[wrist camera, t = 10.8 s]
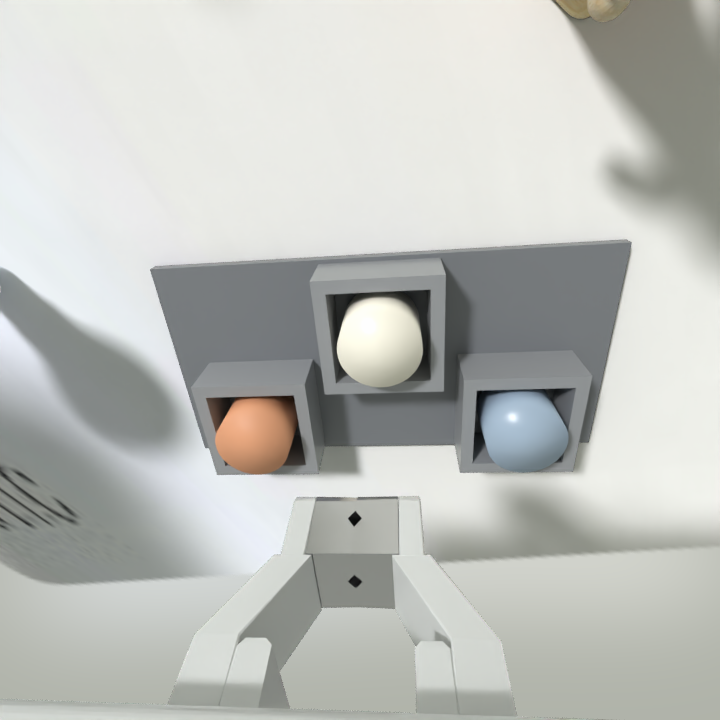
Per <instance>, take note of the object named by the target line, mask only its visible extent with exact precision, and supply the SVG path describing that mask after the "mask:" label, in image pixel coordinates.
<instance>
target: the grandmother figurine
mask: <svg viewBox="0 0 720 720" xmlns="http://www.w3.org/2000/svg"><path fill="white" fill-rule="evenodd" d="M555 1H556V2H557V3H558V4H559V5H560V6H561V7H562V8H563V9H564V10H565V11H566V12H567V13H568V14H569V15H570V16H572V17H574V18H580V19H585V18H588V17H590V16H591V17H592V18H593V19H594V20H596V21H598V22H607V21H611V20H613V19H615V18H616V17H618V16H619V15H620V14H621V13H622V12H623V11H624V10H625V9H626V7H627V6H628V4H629V3H630V1H631V0H555Z"/></svg>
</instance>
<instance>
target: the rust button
mask: <svg viewBox="0 0 720 720" xmlns="http://www.w3.org/2000/svg"><path fill="white" fill-rule="evenodd" d="M297 425H298V416H297V411H296V405H295V399H294V397H293V396H292V395H291V396H253V397H236V399H235V401H234V402H233V404H232V406H231V408H230V409H229V411H228V413H227V415H226V416H225V418H224V420H223V422H222V424H221V425H220V427H219V429H218V431H217V433H216V437H215V444H216V448H217V451H218V453H219V454H220V456H221V457H222V458H223V460H224V461H225V462H226V463H228V464H229V465H230V466H232V467H233V468H235V469H237V470H239V471H242V472H245V473H249V474H267V473H271V472H273V471H275V470H277V469H279V468H280V467H281V466H282V465H283V464H284V463H285V461H286V459H287V457H288V454H289V450H290V447H291V444H292V441H293V438H294V435H295V431H296V428H297Z"/></svg>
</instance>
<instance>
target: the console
mask: <svg viewBox="0 0 720 720" xmlns="http://www.w3.org/2000/svg"><path fill="white" fill-rule="evenodd" d="M631 243H632V242H630V241H628V240H611V241H593V242H576V243H558V244H540V245H523V246H505V247H488V248H470V249H452V250H435V251H417V252H399V253H382V254H364V255H346V256H329V257H311V258H293V259H276V260H258V261H240V262H223V263H205V264H187V265H170V266H155V267H153V268H152V269H150V271H151V274H152V277H153V281H154V284H155V287H156V290H157V293H158V297H159V300H160V303H161V306H162V310H163V313H164V316H165V319H166V323H167V326H168V329H169V332H170V336H171V339H172V342H173V345H174V348H175V352H176V355H177V358H178V361H179V365H180V368H181V371H182V374H183V378H184V381H185V384H186V387H187V391H188V394H189V397H190V400H191V403H192V407H193V410H194V413H195V416H196V420H197V423H198V426H199V429H200V433H201V436H202V439H203V442H204V446H205V448H209V449H210V453H211V456H212V459H213V463H214V466H215V469H216V472H217V475H254V474H249V473H245V472H242V471H239V470H237V469H235V468H233V467H232V466H230V465H229V464H228V463H226V462H225V461H224V460H223V458H222V457H221V456H220V454H219V453H218V451H217V448H216V444H215V437H216V433H217V431H218V429H219V427H220V425H221V424H222V422H223V420H224V418H225V416H226V415H227V413H228V411H229V409H230V408H231V406H232V404H233V402H234V401H235V399H236V397H253V396H291V395H292V396H293V397H294V399H295V405H296V411H297V416H298V425H297V428H296V431H295V435H294V438H293V441H292V444H291V447H290V450H289V454H288V457H287V459H286V461H285V463H284V464H283V465H282V466H281V467H280V468H279V469H277V470H275V471H273V472H271V473H267V474H319V470H320V465H321V461H322V456H323V451H324V446H379V445H446V444H455V448H456V454H457V459H458V465H459V470H460V473H478V472H513V471H509V470H506V469H504V468H502V467H500V466H498V465H497V464H496V463H495V462H494V461H493V460H492V459H491V457H490V456H489V453H488V450H487V447H486V443H485V439H484V436H483V432H482V429H481V425H480V422H479V418H478V415H477V401H478V398H479V396H480V394H481V393H482V391H483V390H518V389H545V390H546V392H547V394H548V396H549V398H550V399H551V401H552V403H553V405H554V407H555V408H556V410H557V412H558V414H559V416H560V417H561V419H562V421H563V423H564V425H565V426H566V429H567V431H568V437H569V439H568V445H567V447H566V450H565V451H564V453H563V454H562V456H561V457H560V458H559V459H558V460H557V461H556V462H554V463H553V464H551V465H550V466H548V467H546V468H543V469H541V470H537V471H533V472H573V469H574V464H575V459H576V454H577V449H578V444H579V442H589V437H590V433H591V428H592V424H593V419H594V414H595V410H596V405H597V400H598V396H599V391H600V387H601V382H602V377H603V373H604V368H605V363H606V359H607V354H608V350H609V345H610V340H611V336H612V331H613V326H614V322H615V317H616V313H617V308H618V303H619V299H620V294H621V290H622V285H623V280H624V276H625V271H626V266H627V262H628V257H629V253H630V248H631ZM389 291H402V292H404V293H405V294H406V295H408V296H409V297H410V298H411V300H412V301H413V302H414V304H415V306H416V308H417V310H418V314H419V320H420V328H421V336H422V344H423V355H422V359H421V362H420V364H419V366H418V368H417V370H416V371H415V372H414V373H413V374H412V375H411V376H410V377H409V378H408V379H406V380H405V381H403V382H401V383H399V384H397V385H394V386H389V387H371V386H367V385H364V384H362V383H360V382H358V381H356V380H354V379H353V378H351V377H350V376H349V375H348V374H347V373H346V372H345V370H344V369H343V368H342V366H341V364H340V362H339V359H338V355H337V342H338V338H339V334H340V330H341V326H342V322H343V318H344V314H345V311H346V308H347V306H348V304H349V302H350V301H351V300H352V298H353V297H354V296H355V295H357V294H358V293H368V292H389Z"/></svg>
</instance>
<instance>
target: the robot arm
mask: <svg viewBox="0 0 720 720" xmlns="http://www.w3.org/2000/svg"><path fill="white" fill-rule="evenodd" d="M398 506H399V508H398ZM330 607H331V608H337V607H367V608H389V609H395V611H396V613H397V614H398V616H399V618H400V620H401V622H402V623H403V625H404V627H405V628H406V630H407V632H408V634H409V636H410V637H411V639H412V641H413V643H414V644H415V646H416V647H415V674H416V713H399V712H396V713H395V712H370V711H341V710H312V709H311V710H310V709H290V706H289V703H288V700H287V696H286V692H285V689H284V686H283V682H282V679H281V675H280V670H281V669H282V667H283V666H284V664H285V663H286V662H287V660H288V659H289V657H290V656H291V654H292V653H293V651H294V650H295V648H296V647H297V645H298V644H299V643H300V641H301V640H302V638H303V637H304V635H305V634H306V632H307V631H308V629H309V628H310V626H311V625H312V623H313V622H314V621H315V619H316V618H317V616H318V615H319V613H320V612H321V608H330ZM0 720H599V719H569V718H541V717H517V713H516V708H515V703H514V698H513V694H512V689H511V684H510V680H509V675H508V670H507V666H506V661H505V656H504V652H503V647H502V642H501V640H500V639H499V638H498V636H497V635H496V634H495V633H494V632H493V630H492V629H491V628H490V627H489V625H488V624H487V623H486V622H485V620H484V619H483V618H482V617H481V616H480V615H479V613H478V612H477V611H476V610H475V608H474V607H473V606H472V605H471V603H470V602H469V601H468V600H467V598H466V597H465V596H464V595H463V593H462V592H461V591H460V590H459V589H458V587H457V586H456V585H455V584H454V582H453V581H452V580H451V579H450V577H449V576H448V575H447V574H446V573H445V571H444V570H443V569H442V568H441V566H440V565H439V564H438V563H437V561H436V560H435V559H434V558H433V557H432V555H425V551H424V538H423V526H422V513H421V501H420V497H419V496H401V497H358V498H346V497H297V498H296V499H295V501H294V503H293V507H292V511H291V515H290V519H289V523H288V527H287V531H286V535H285V539H284V543H283V547H282V551H281V554H277V555H273V556H272V557H271V558H270V559H269V560H268V561H267V562H266V563H265V564H264V565H263V566H262V567H261V568H260V569H259V570H258V571H257V572H256V573H255V574H254V575H253V576H252V577H251V578H250V579H249V581H247V583H245V584H244V585H243V586H242V587H241V588H240V589H239V590H238V591H237V592H236V593H235V594H234V595H233V596H232V597H231V598H230V599H229V600H228V601H227V602H226V603H225V604H224V605H223V606H222V607H221V608H220V609H219V610H218V611H217V612H216V613H215V614H214V615H213V616H212V617H211V618H210V619H209V620H208V621H207V622H206V623H205V624H204V625H203V626H202V627H201V628H200V629H199V630H198V631H197V632H196V633H195V634H194V637H193V639H192V642H191V644H190V647H189V650H188V652H187V655H186V657H185V660H184V663H183V665H182V668H181V671H180V673H179V676H178V678H177V681H176V683H175V686H174V689H173V691H172V694H171V696H170V699H169V702H168V704H167V705H165V704H135V703H106V702H76V701H48V700H18V699H0Z"/></svg>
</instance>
